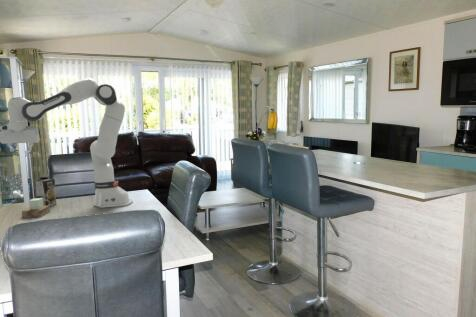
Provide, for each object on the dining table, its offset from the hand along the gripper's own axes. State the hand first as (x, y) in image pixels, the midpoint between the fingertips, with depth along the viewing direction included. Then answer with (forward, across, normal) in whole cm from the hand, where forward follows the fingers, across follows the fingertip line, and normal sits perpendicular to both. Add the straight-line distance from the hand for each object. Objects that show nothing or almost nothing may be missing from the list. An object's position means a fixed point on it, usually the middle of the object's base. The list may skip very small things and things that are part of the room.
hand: (21, 151), depth 206 cm
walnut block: (+35, -9, +8) cm, 37 cm away
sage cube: (+31, -10, +8) cm, 34 cm away
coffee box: (+35, -6, -12) cm, 38 cm away
